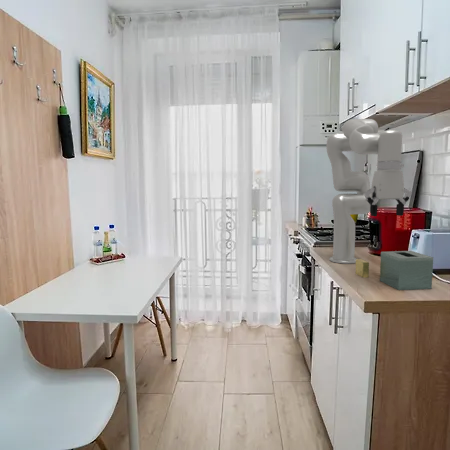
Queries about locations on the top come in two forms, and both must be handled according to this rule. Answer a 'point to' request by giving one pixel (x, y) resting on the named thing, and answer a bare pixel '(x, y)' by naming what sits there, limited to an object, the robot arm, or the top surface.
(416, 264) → the coin box
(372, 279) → the top surface
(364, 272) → the wooden block
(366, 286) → the top surface
